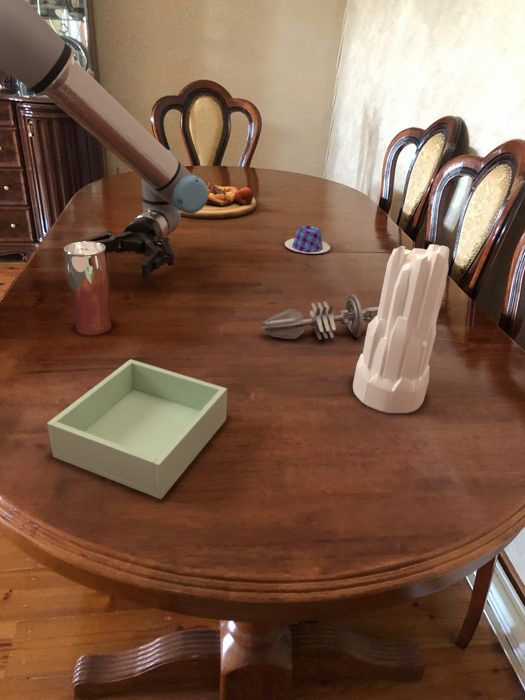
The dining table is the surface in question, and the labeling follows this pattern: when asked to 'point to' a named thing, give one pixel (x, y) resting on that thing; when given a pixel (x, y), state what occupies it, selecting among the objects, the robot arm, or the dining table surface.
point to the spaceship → (320, 320)
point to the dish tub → (139, 426)
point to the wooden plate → (225, 203)
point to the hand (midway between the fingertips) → (108, 267)
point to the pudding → (308, 241)
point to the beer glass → (89, 285)
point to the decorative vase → (403, 331)
